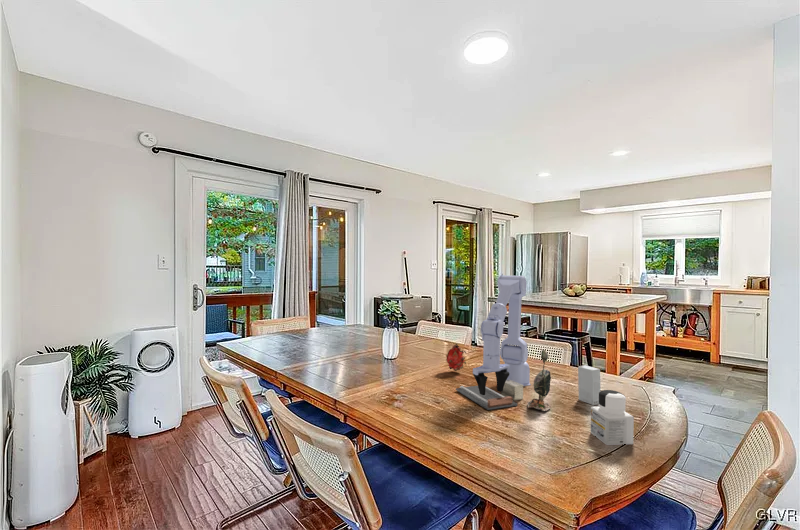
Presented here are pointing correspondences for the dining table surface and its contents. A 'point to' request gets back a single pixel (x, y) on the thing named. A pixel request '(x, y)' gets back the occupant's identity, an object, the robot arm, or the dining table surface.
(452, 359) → the dragon fruit
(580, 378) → the skincare box
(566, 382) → the dining table surface
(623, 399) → the container
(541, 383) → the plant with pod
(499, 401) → the rail guide
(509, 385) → the block
